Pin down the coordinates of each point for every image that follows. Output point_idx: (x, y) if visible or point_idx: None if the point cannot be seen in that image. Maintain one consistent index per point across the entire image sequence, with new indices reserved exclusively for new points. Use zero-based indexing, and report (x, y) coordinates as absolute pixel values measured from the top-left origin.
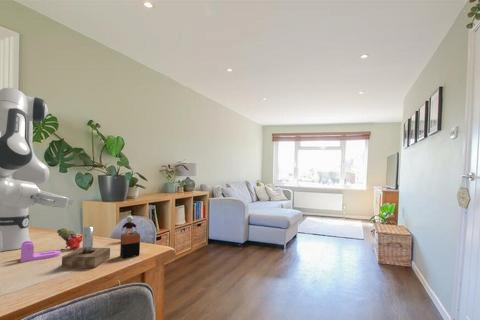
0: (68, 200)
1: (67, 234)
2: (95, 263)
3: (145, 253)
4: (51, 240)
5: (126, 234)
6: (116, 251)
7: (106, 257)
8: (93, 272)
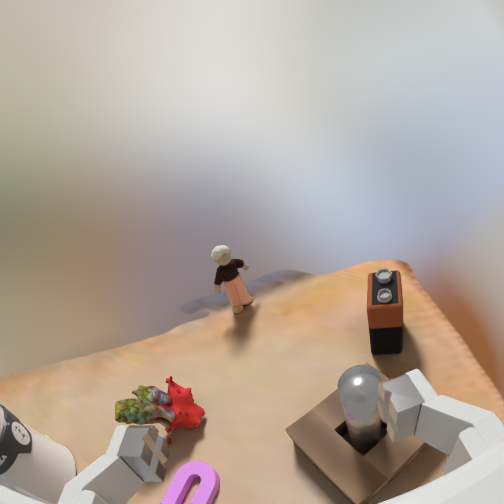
0: (446, 405)
1: (153, 411)
2: None
3: None
4: (80, 409)
5: (392, 297)
6: (318, 351)
7: None
8: None
